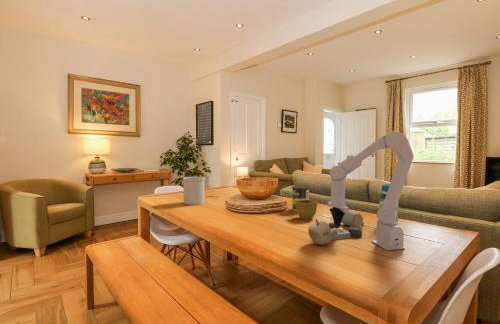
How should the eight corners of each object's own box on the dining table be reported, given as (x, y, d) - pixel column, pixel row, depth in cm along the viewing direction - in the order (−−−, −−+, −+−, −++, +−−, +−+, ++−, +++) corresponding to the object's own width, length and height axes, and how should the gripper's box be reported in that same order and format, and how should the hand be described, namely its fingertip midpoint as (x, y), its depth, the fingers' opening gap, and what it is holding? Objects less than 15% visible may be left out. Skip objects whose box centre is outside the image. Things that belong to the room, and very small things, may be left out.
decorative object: (335, 244, 107) (335, 219, 106) (323, 250, 101) (323, 223, 100) (316, 239, 113) (316, 215, 113) (303, 244, 107) (303, 219, 107)
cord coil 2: (364, 237, 115) (364, 230, 115) (352, 238, 114) (352, 231, 114) (357, 233, 121) (357, 226, 121) (345, 234, 120) (345, 227, 120)
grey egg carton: (350, 238, 115) (350, 230, 115) (329, 241, 112) (330, 232, 112) (339, 233, 122) (339, 225, 121) (320, 236, 118) (320, 227, 118)
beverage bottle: (400, 228, 127) (402, 186, 126) (381, 227, 129) (382, 186, 128) (395, 223, 135) (396, 184, 134) (376, 223, 137) (377, 183, 136)
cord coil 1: (343, 232, 123) (343, 225, 123) (331, 232, 122) (332, 226, 122) (337, 228, 128) (337, 222, 128) (326, 229, 127) (326, 222, 127)
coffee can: (298, 212, 160) (298, 188, 159) (288, 208, 169) (289, 186, 168) (312, 210, 164) (313, 187, 163) (302, 207, 173) (302, 185, 172)
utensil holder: (198, 200, 197) (198, 176, 196) (209, 203, 186) (209, 177, 185) (179, 202, 188) (179, 177, 187) (189, 206, 176) (189, 179, 176)
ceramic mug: (353, 229, 126) (353, 213, 126) (339, 225, 134) (340, 209, 133) (368, 226, 131) (369, 211, 131) (354, 222, 139) (355, 207, 138)
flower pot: (317, 219, 145) (317, 202, 144) (303, 220, 141) (303, 203, 141) (308, 215, 153) (308, 199, 152) (294, 216, 149) (294, 200, 149)
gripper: (321, 191, 122) (321, 221, 123) (337, 197, 108) (336, 230, 109) (336, 191, 123) (335, 220, 124) (353, 196, 109) (353, 230, 110)
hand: (337, 225), depth 117 cm, fingers closed
